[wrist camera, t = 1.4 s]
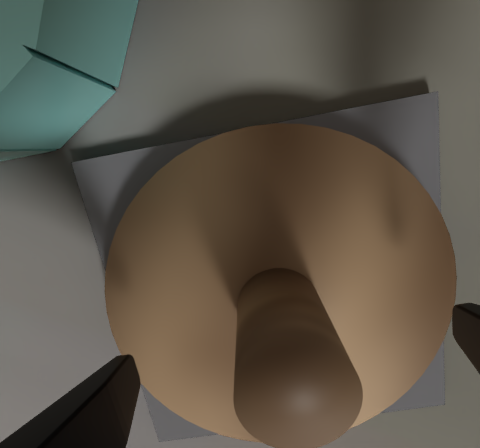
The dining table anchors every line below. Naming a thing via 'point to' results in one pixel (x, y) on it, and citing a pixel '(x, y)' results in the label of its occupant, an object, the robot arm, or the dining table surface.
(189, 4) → the dining table surface
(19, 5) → the bowl
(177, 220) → the lid
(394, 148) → the mat
